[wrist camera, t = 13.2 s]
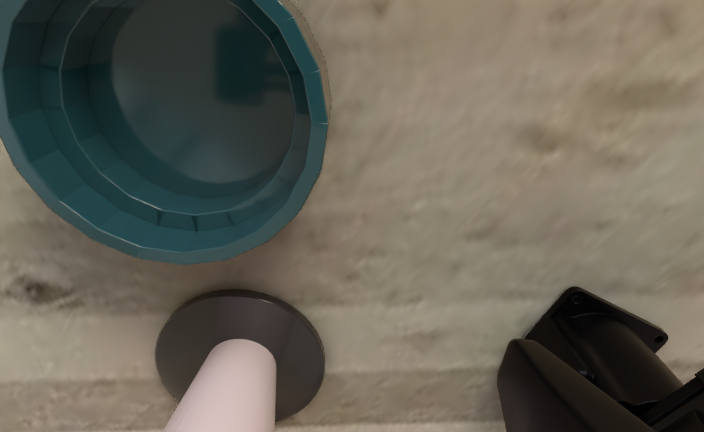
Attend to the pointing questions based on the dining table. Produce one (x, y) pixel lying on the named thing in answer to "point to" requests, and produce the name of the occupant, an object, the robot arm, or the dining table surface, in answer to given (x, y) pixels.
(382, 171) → the dining table surface
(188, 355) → the coaster
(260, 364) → the smoothie
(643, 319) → the robot arm
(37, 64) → the teal faceted dish
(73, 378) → the dining table surface
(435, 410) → the dining table surface
